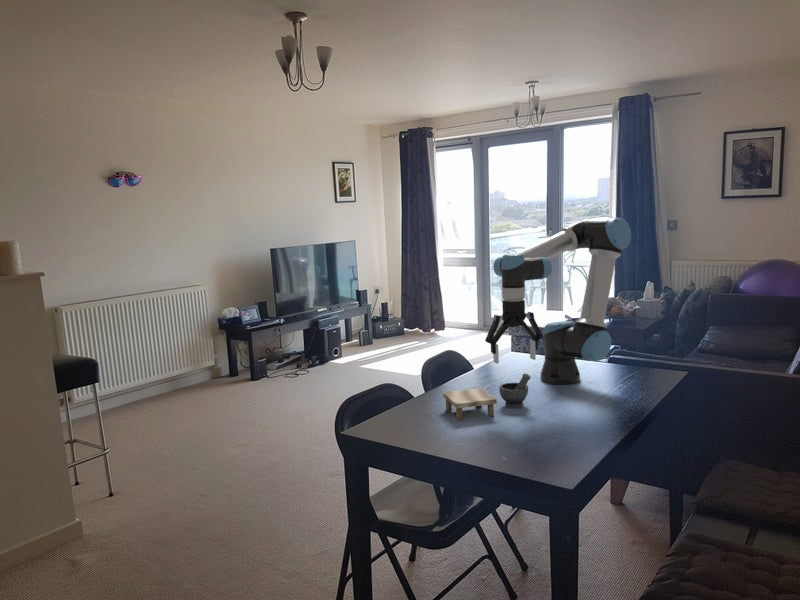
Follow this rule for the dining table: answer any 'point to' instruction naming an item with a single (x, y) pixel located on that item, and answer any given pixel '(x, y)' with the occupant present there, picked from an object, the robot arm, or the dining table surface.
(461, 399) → the oak footstool
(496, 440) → the dining table surface
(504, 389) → the mortar and pestle
